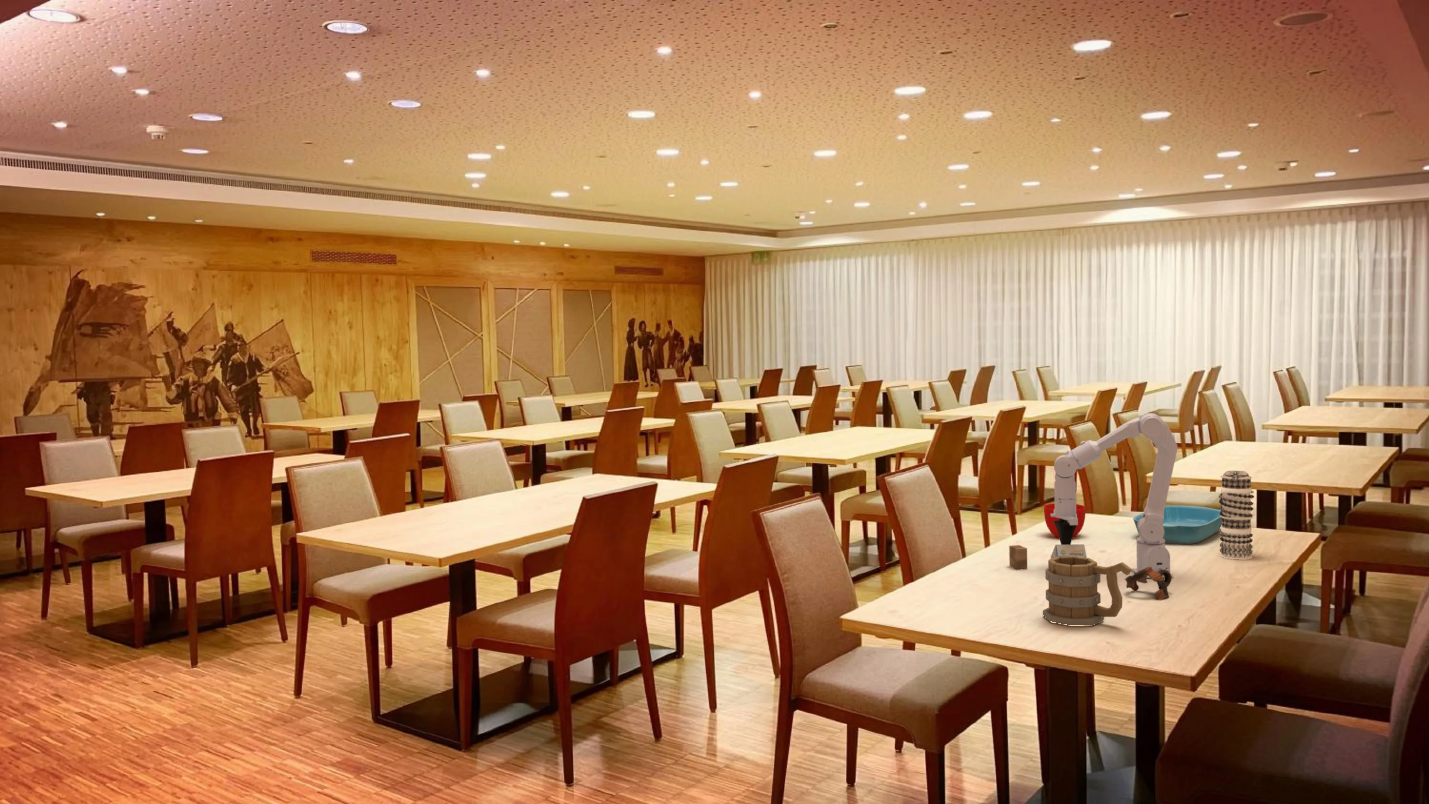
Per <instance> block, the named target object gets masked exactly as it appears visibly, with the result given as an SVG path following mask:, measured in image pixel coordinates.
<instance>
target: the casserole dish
mask: <svg viewBox="0 0 1429 804" xmlns="http://www.w3.org/2000/svg"><path fill="white" fill-rule="evenodd" d="M1220 511H1221V510H1220V509H1218V508H1217V509H1216V508H1211V507H1206V506H1205V507H1204V506H1197V505H1165V508H1164V519H1163V528H1164V536H1163V539H1165V543H1167V542H1170V543H1169V544H1177V543H1179V545H1193V544H1197V543H1200V542H1202V541H1204V540H1207V538H1209V537H1211V536H1213V535H1215V534H1216V533H1217V532H1218V531H1219V530H1221V526H1222V517H1220V514H1219V513H1220ZM1143 513H1144V512H1142V513H1139V514H1137V515H1135V516H1134V517H1133V518H1132V519H1133V522H1134V525H1135V528H1136V530H1137V533H1138V535H1139V536H1140V534H1139V530H1138V528H1137V523H1138V521H1139V519H1140V518H1141V517H1142V515H1143Z"/></svg>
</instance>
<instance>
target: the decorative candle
mask: <svg viewBox="0 0 1429 804" xmlns="http://www.w3.org/2000/svg"><path fill="white" fill-rule="evenodd" d="M1220 478H1221V486H1220V492H1221V493H1219V494H1218V498H1219V501H1218V503H1219V504H1220V506H1219V509H1218V510H1221V511H1220V513H1219V514H1220V517H1222V525H1221V527H1220V532H1219V535H1220V536H1221V537H1219V540H1220V541H1221V542H1220V543H1219V548H1220V549H1219V552H1220V554H1219V556H1220V557H1221V558H1223V557H1224V558H1223V559H1226V558H1229V559H1228V560H1233V559H1239V560H1238V561H1244V560H1245V561H1247V560H1252V558H1253V553H1254V551H1253V550H1252V549H1253V548H1254V545H1252V542H1253V541H1254V539H1252V537H1253V535H1254V534H1253V533H1252V526H1251V525H1252V523H1251V521H1252V519H1253V517H1254V515H1253V514H1252V513H1251V512H1252V511H1253V510H1254V507H1252V506H1253V505H1254V501H1253V502H1252V501H1251V499H1253V498H1255V496H1254V495H1253V493H1254V491H1253V490H1252V484H1251V483H1252V481H1251V479H1252V478H1253V477H1252V476H1250V474H1249V473H1248V472H1247V471H1243V470H1227V471H1225V472H1224V473H1223V475H1221V476H1220Z"/></svg>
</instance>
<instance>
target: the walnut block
mask: <svg viewBox="0 0 1429 804" xmlns="http://www.w3.org/2000/svg"><path fill="white" fill-rule="evenodd" d="M1008 548H1009V549H1008V550H1009V552H1008V553H1009V567H1010V566H1011V567H1010V568H1012V567H1013V568H1012V569H1014V570H1017V571H1021V570H1020V569H1023V570H1028V548H1027V547H1025V546H1022V545H1020V544H1017V545H1016V544H1014V545H1008Z"/></svg>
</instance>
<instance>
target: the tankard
mask: <svg viewBox="0 0 1429 804" xmlns="http://www.w3.org/2000/svg"><path fill="white" fill-rule="evenodd" d="M1047 561H1048V563H1047V564H1048V565H1047V566H1048V568H1047V569H1045V580H1046V581H1048V589H1046V590H1045V600H1046V601H1047V602H1048V608H1044V609H1043V610H1042V616H1043V615H1044V616H1045V617H1046V618H1047V619H1048V620H1049V621H1052V622H1056V623H1061V624H1067V625H1094V624H1097V623H1099V622H1101V621H1103V620H1104V621H1105V618H1116V617H1117V616H1118V615H1119V614H1120V613H1119V612H1121V609H1122V608H1123V596H1122V593H1121V591H1120V587H1119V583H1118V576H1117V575H1118V573H1119V572H1121V573H1123V574H1124V575H1125V576H1130V574H1131V573H1132V572H1133V571H1132V569H1133V568H1132V567H1130V566H1129V565H1127V564H1126V563H1124V562H1123V561H1122V562H1119V563H1117V564H1113V565H1110V566H1102V565H1098V562H1097V561H1095V560H1094V559H1092V558H1090V557H1089V558H1088V557H1087V558H1084V557H1077V556H1075V557H1073V556H1063V557H1055V558H1052V559H1051V558H1050V559H1048V560H1047ZM1101 575H1105V576H1106V585H1107V589H1108V591H1109V593H1110V597H1111V605H1110V607H1105V606H1101V605H1100V604H1101V598H1102V597H1101V595H1102V594H1101V593H1100V592H1098V584H1099V583H1101ZM1046 618H1045V619H1046ZM1047 619H1046V620H1047ZM1048 620H1047V621H1048ZM1049 621H1048V622H1049ZM1104 621H1103V622H1104ZM1101 623H1102V622H1101ZM1099 624H1100V623H1099ZM1097 625H1098V624H1097Z"/></svg>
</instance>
